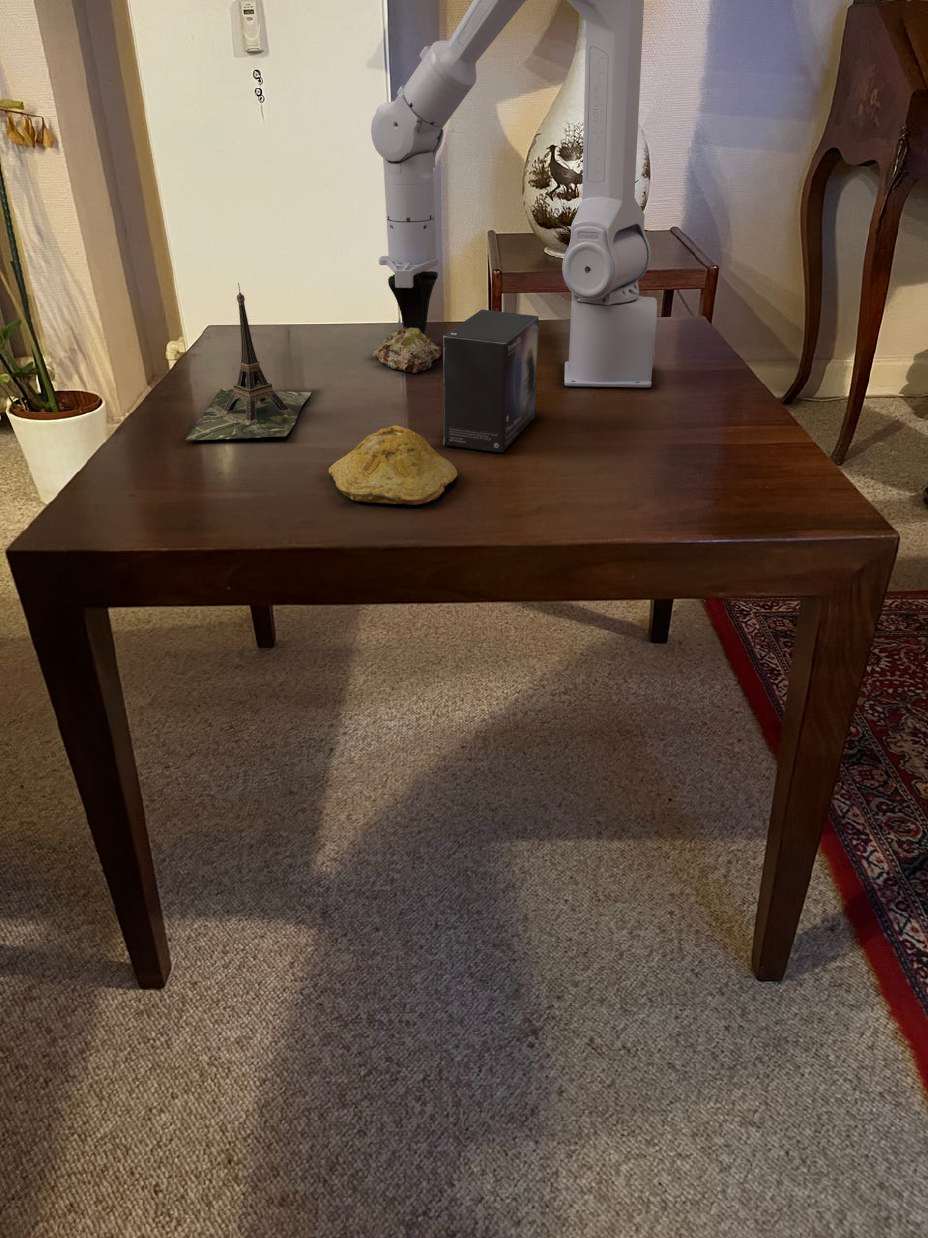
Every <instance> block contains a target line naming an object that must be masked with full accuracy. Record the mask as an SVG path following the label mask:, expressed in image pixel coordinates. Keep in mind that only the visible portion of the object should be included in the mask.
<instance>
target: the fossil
mask: <svg viewBox="0 0 928 1238" xmlns="http://www.w3.org/2000/svg"><path fill="white" fill-rule="evenodd" d="M328 474H329V475H330V476H331V477H332V479H333V481H334V483H335V487H336V488H337V489H338V491H340V492H341V493H342V494H343V496H345V497H347V498H348V499H351V500H352V501H354V502H355V501H356V502H362V503H375V504H376V503H377V504H391V505H414V506H417V505H423V504H426V503H430V502H432V501H435V500H437V499H438V498H439V497H440V496H442V495H443V493H445V488H446V487H447V486H448V485H449V484H451V483H452V482H454V480H456V478H457V477H458V470H457V468H456V467H455V465H454V464H453V463H452V462H451V461H449V460H448V459H446V458H445V457H443V456H441V455H440V454H439V453H438V452H437V451H436V450H435V449H434V448H433V447H431V445H430V444H429V443H428V441H427V440H426V439H425V437H423V435H421V434H419V433H417V432H415V431H413V430H412V429H410V428H407V427H405V426H404V427H403V426H401V425H396V424H394V425H392V426H389V427H387V428H380V429H378V431H376V432H373V433H371V434H369V435H367V436H366V437H365V438H364V439H363V440H362V441H361V442H360V443H359V444H358V445H357V446H356V447H355V448H354V449H352V450H351V451H350V452H348V453H347V454H346V455H345V456H343V457H341V458H339V459H338V460H337V461H335V462H334V463H333V464H332V465H331V466H330V467H329V468H328Z"/></svg>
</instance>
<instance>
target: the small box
mask: <svg viewBox="0 0 928 1238" xmlns="http://www.w3.org/2000/svg"><path fill="white" fill-rule="evenodd" d="M539 317H540V316H539V315H533V314H532V315H531V314H524V313H523V314H522V313H515V312H507V311H499V310H490V309H480V310H479V311H477V312H476V313H474V314H473V315H471V316H470V317H468V318H467V319H466V320H464V321H463V322H461V323H460V324H459V325H457V326H455V327H454V328H452V329H451V330H450V331H448V332H447V333H445V334H443V336H442V368H443V369H442V370H443V371H442V373H443V375H442V382H443V387H442V388H443V439H442V440H443V442H442V445H443V446H447V447H448V446H449V447H458V448H463V449H472V450H476V451H477V450H478V451H486V452H492V453H499V454H500V453H501V454H502V453H504V452H505V451H506V450H507V449H508V447H510V445H511V444H512V443H514V442H515V440H516V439H517V438H518V436H520V435H521V433H522V432H524V430H525V429H526V428H527V427H528V426H529V424H531V422H532V421H533V420H534V419H535V417H536V394H537V393H536V392H537V391H536V390H537V371H538V370H537V366H538V345H539V344H538V343H539V342H538V340H539V319H540V318H539Z"/></svg>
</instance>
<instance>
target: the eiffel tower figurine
mask: <svg viewBox="0 0 928 1238" xmlns="http://www.w3.org/2000/svg"><path fill="white" fill-rule="evenodd" d="M237 285H238V291H239V292H238V294H237V295H236V300H237V303H238V311H239V313H238V315H239V326H240V345H241V347H240V348H241V349H240V350H241V356H240V357H241V359H240V362H239V365H240V368H239V373H238V378H237V382H236V383H235V384H233V388H220V389H219V391H218V392H217V393H216V395H215V396H214V398H213V399H212V401H211V402H210V404H209V405H208V406H207V408H206V409H205V410H204V411H203V413H202V415H201V416H200V417H199V419H198V420H197V421H196V423H195V425H194V426H193V427H192V429H191V430H190V432H189V434H188V435H187V436H186V438H185V441H208V440H211V441H212V440H231V439H232V440H233V439H251V438H252V439H253V438H269V437H287V436H288V434H289V433H290V431H291V430H292V429H293V427H294V425H295V424H296V422H297V419H298V416H299V415H300V414H301V413H300V411H301V410H302V408H303V406H304V404H305V403H306V401H307V400H308V399H309V397H311V394H312V393H313V392H312V391H275V390H274V389H273V384H272V383H270V382H268V380H267V378H266V377H265V374H264V372H263V370H262V368H261V366H260V364H261V362H260V361H259V360H258V358H257V355H256V351H255V346H254V343H253V338H252V335H251V330H250V326H249V325H250V324H249V320H248V314H247V310H246V304H245V301H246V298H245V295H244V294H242V292H241V288H240V287H241V286H240V283H239V282H238V283H237Z"/></svg>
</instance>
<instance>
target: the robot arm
mask: <svg viewBox="0 0 928 1238" xmlns="http://www.w3.org/2000/svg"><path fill="white" fill-rule="evenodd" d="M527 1H528V0H472V2H471V4H470V5H469V7H468V8H467V11H466V12H465V14H464V15H463V17H462V18H461V20H460V22H459V23H458V25H457V27H456V29H455V30H454V32H453V34H452V35H451V37H450V39H449V40H437V41H435V42H433V43H432V45H425V46H424V47H423V49H422V50H421V52H420V53H419V57H420V60H421V61H420V62H419V64H418V65H417V67H416V69H415V70H414V72H413V73H412V74H411V76H410V78H409V79H408V80H407V82H406V83H405V85H400V87H399V88H398V90H397V91H396V94H397V97H396V98H395V99H394V100H393V101H386V102H383V103H381V104H379V105H378V106H377V108H376V110H375V113H374V116H373V118H372V120H371V127H370V134H371V140H372V144H373V146H374V148H375V150H376V152H377V153H378V154H379V155H380V157H381V158H382V159H383V160H382V164H383V165H382V166H383V181H384V183H383V184H384V201H385V217H386V234H387V253H388V255H381V256H379V258H378V264H379V265H380V266H387V267H388V268H389V269H390V270H391V271H392V272H393V273H394V274H393V275H390V276H389V277H388V278H387V283H388V284H387V285H388V287H389V288H390V291H391V293H392V294H393V296H394V298H395V300H396V303H397V305H398V308H399V312H400V316H401V320H402V324H403V328H418V329H420V331H421V332H422V334H425V332H426V329H427V328H426V327H427V323H428V314H429V308H430V307H429V306H430V302H431V301H430V300H431V297H432V293H433V289H434V287H435V284H436V282H437V279H438V277H439V273H438V272H437V271H431V270H430V269H433V268H434V267H437V266H438V265H439V257H438V255H437V246H436V245H437V244H436V212H435V211H436V208H435V207H436V205H435V175H434V174H435V172H434V169H436V155H437V152H438V151H439V149H440V148H441V146H442V144H443V139H444V127H445V125H446V124H447V123H448V122H449V120H450V119H451V118H452V116H453V114H454V113H455V112H456V110H457V109H458V108H459V106H460V105H461V104H462V102H463V100H464V99H465V98H466V96H467V95H468V94H469V92H470V91H471V90H472V88H473V87H474V86H475V85H476V83H477V67H476V65H477V62H478V61H479V60H480V58H481V57H482V56H483V55H484V53H485V52H486V51H487V49H488V48H489V47H490V46H491V45H492V43H493V42H494V41H495V40H496V38H497V37H498V36H499V34H500V33H502V31H503V30H504V28H506V26H507V25H508V23H509V22H510V21H511V20H512V19H513V17H514V16H515V15H516V13H517V12H518V11H519V10H520V9H521V8H522V6H523V5H524V3H525V2H527ZM566 2H568V3H569V4H570V6H572V8H573V9H574V10H575V11H576V12H577V13H578V14H579V15H580V16H581V17H582V18H583V19H584V21H585V51H584V52H585V53H584V92H583V93H584V94H583V95H584V97H583V99H584V100H583V141H582V145H583V146H582V187H581V188H582V190H581V191H582V193H581V202H580V204H579V207H578V209H577V212H576V213H575V216H574V218H573V220H572V223H571V226H570V240H569V244H568V247H567V249H566V251H565V253H564V255H563V257H562V258H563V259H562V263H561V265H562V266H561V271H562V278H563V281H564V283H565V285H566V287H567V288H568V290H569V291H570V292H571V303H570V325H569V345H568V346H569V348H568V360H567V361H565V362H564V383H563V384H564V386H565V387H588V388H589V387H591V388H592V387H594V388H596V387H597V388H599V387H600V388H606V387H607V388H651V387H652V384H653V383H652V376H653V367H655V359H656V350H655V345H656V335H657V322H658V321H657V320H658V318H657V317H658V302H657V298H656V297H652V296H642V295H640V287H639V280H640V279H642V277H643V276H644V275H645V274H646V273H647V271H648V269H649V266H650V263H651V259H652V258H651V257H652V251H651V245H650V243H649V239H648V237H647V234H646V229H645V217H646V215H645V212H644V211H643V209H642V208H641V206H640V204H639V203H638V201H637V200H636V198H635V197H636V196H635V195H636V175H637V155H638V154H637V153H638V136H639V135H638V134H639V115H640V114H639V113H640V91H641V72H642V53H643V51H642V50H643V32H644V30H643V29H644V13H645V12H644V10H645V0H566ZM428 270H429V271H428Z"/></svg>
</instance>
